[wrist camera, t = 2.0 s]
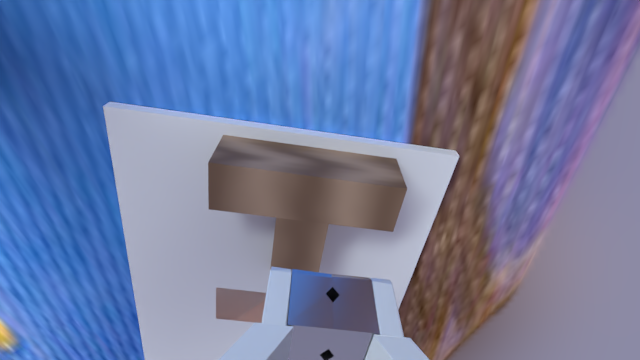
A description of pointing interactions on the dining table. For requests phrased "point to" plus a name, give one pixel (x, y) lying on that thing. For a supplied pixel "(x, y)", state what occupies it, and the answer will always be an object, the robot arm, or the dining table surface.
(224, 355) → the robot arm
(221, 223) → the mat
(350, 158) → the t block
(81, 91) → the dining table surface
